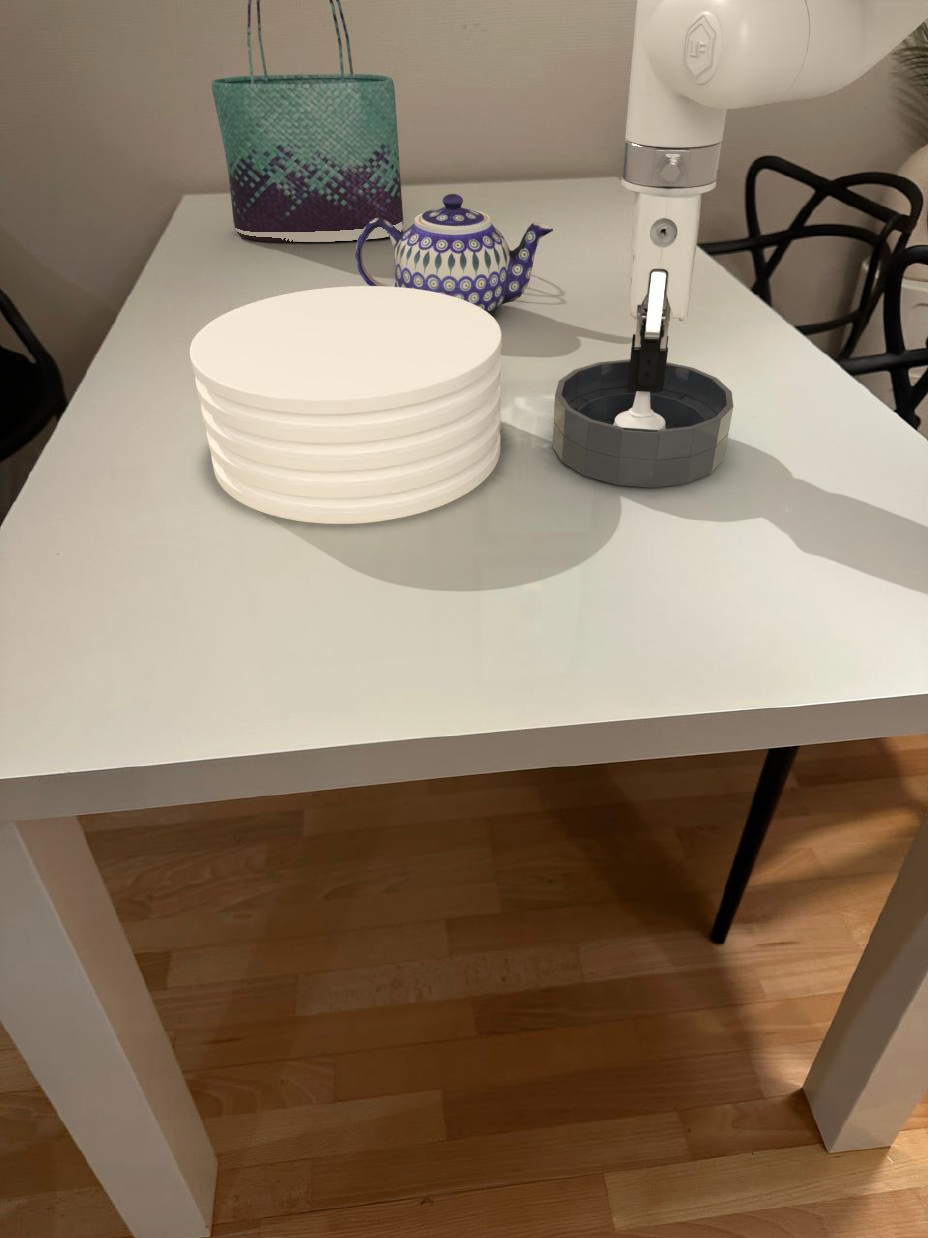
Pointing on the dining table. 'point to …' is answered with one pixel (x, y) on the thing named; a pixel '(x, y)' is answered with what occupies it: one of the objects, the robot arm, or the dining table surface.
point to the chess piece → (640, 415)
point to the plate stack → (350, 402)
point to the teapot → (458, 255)
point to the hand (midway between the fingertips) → (645, 382)
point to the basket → (309, 148)
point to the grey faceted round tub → (641, 455)
